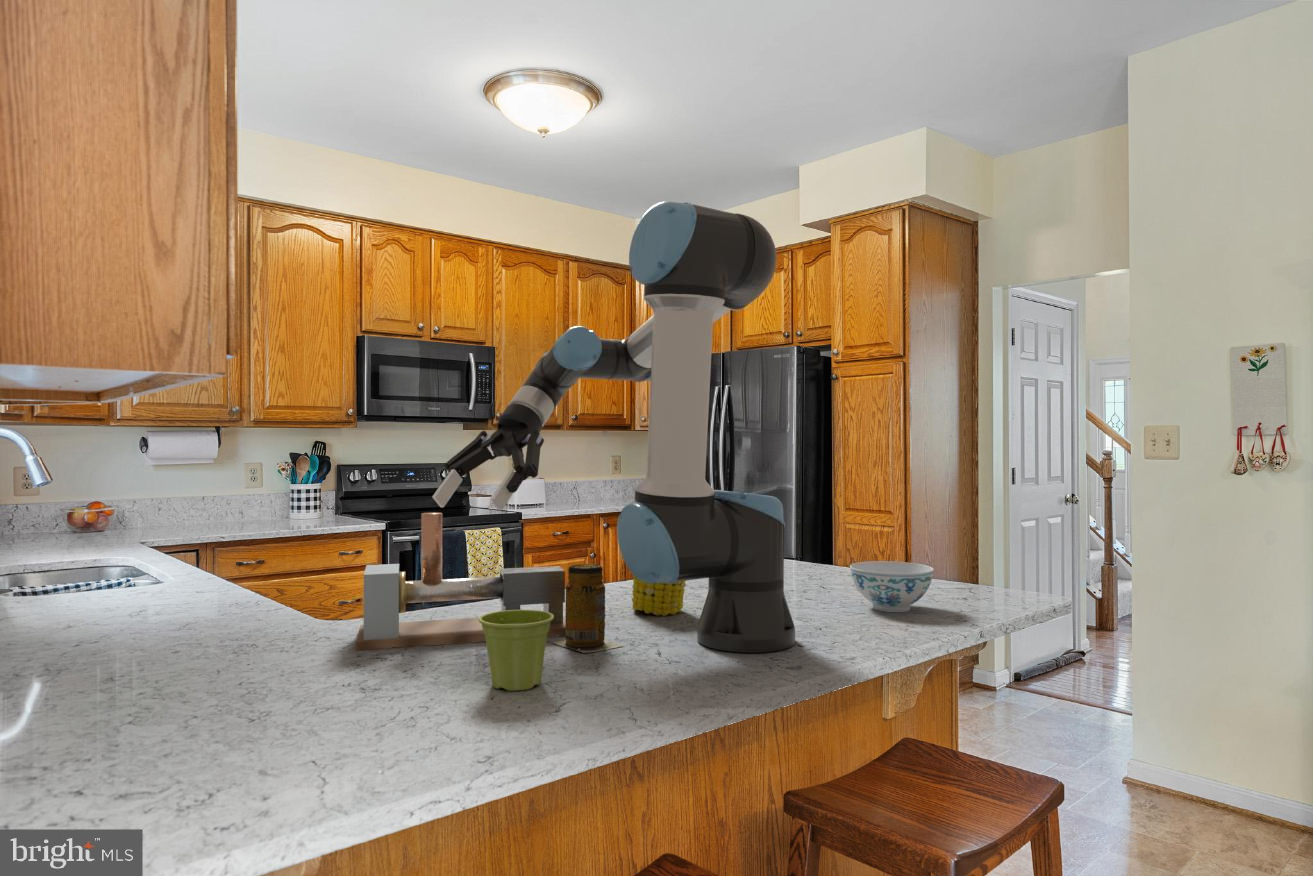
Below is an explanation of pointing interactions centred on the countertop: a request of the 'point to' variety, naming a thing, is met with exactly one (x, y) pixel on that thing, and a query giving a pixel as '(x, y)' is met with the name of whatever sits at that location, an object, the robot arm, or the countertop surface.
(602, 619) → the condiment
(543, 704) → the countertop surface
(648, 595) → the food
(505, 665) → the plant pot
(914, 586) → the chinaware
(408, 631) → the base board
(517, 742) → the countertop surface
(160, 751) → the countertop surface
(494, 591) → the tube
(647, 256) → the robot arm
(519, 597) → the grey concrete block
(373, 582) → the socket block
